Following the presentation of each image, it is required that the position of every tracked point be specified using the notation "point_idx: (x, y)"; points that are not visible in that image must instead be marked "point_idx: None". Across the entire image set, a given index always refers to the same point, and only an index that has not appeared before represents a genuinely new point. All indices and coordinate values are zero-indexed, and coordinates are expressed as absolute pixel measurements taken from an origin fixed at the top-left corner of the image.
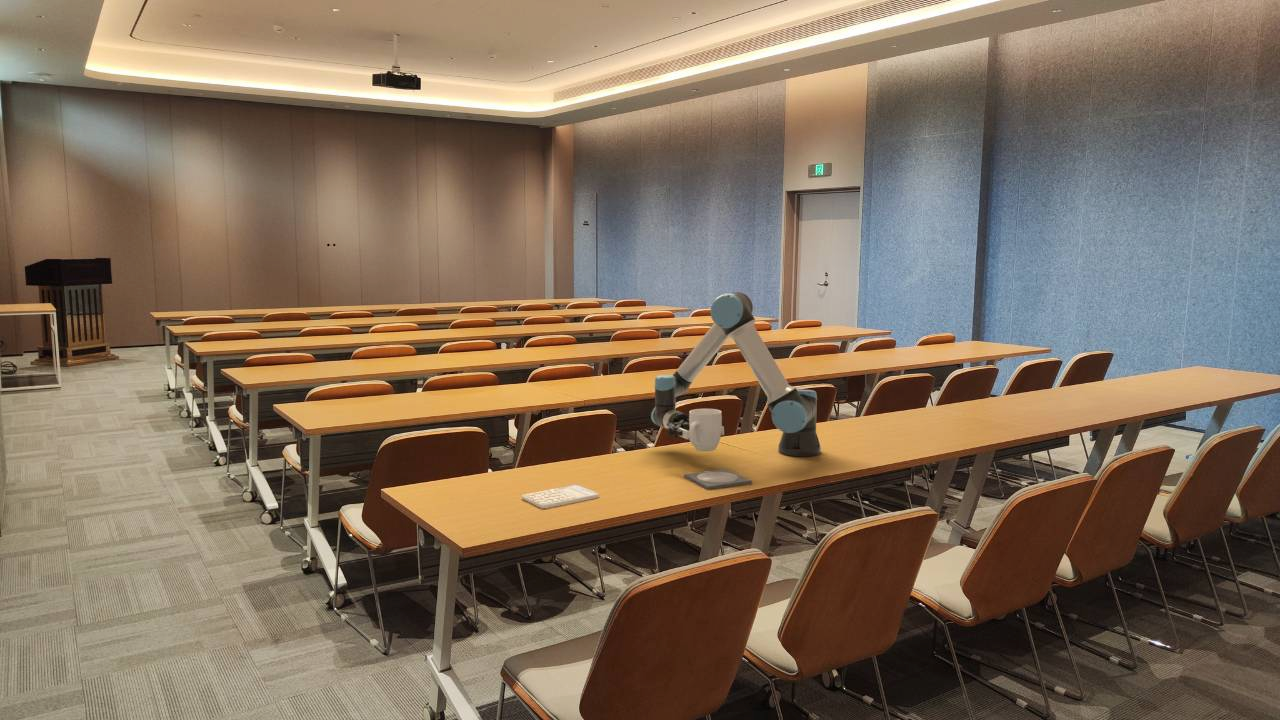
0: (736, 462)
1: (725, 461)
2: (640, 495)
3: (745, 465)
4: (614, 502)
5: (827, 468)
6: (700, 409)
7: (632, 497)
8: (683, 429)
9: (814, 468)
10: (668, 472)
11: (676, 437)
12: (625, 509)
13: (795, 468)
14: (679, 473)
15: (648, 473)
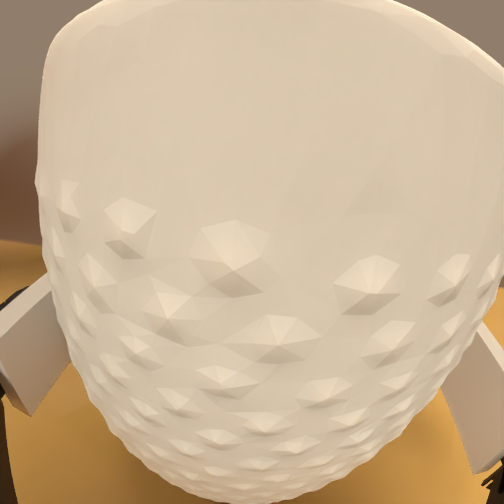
0: (37, 426)
1: (52, 474)
2: (491, 325)
3: (61, 378)
4: None
5: (4, 251)
6: (230, 2)
7: (500, 323)
8: (493, 345)
9: (12, 261)
10: (433, 466)
11: (489, 476)
12: (496, 294)
13: (26, 279)
14: (396, 441)
15: (496, 467)
